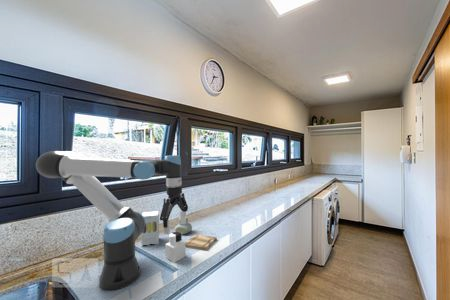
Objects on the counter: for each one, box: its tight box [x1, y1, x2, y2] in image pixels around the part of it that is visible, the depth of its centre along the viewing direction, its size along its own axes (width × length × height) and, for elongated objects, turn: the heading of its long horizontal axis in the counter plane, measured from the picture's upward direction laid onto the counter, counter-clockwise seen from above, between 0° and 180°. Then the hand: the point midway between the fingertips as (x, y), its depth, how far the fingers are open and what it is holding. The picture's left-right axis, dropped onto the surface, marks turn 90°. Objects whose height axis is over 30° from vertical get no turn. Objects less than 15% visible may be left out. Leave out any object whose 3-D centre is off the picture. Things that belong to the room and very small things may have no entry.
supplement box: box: [140, 210, 160, 246], centre depth 119 cm, size 10×9×17 cm
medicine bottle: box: [165, 231, 187, 263], centre depth 101 cm, size 7×7×12 cm
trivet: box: [184, 233, 217, 252], centre depth 116 cm, size 14×14×2 cm
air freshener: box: [174, 216, 193, 236], centre depth 132 cm, size 11×8×10 cm
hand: (175, 228), depth 101 cm, fingers open, 13 cm apart
